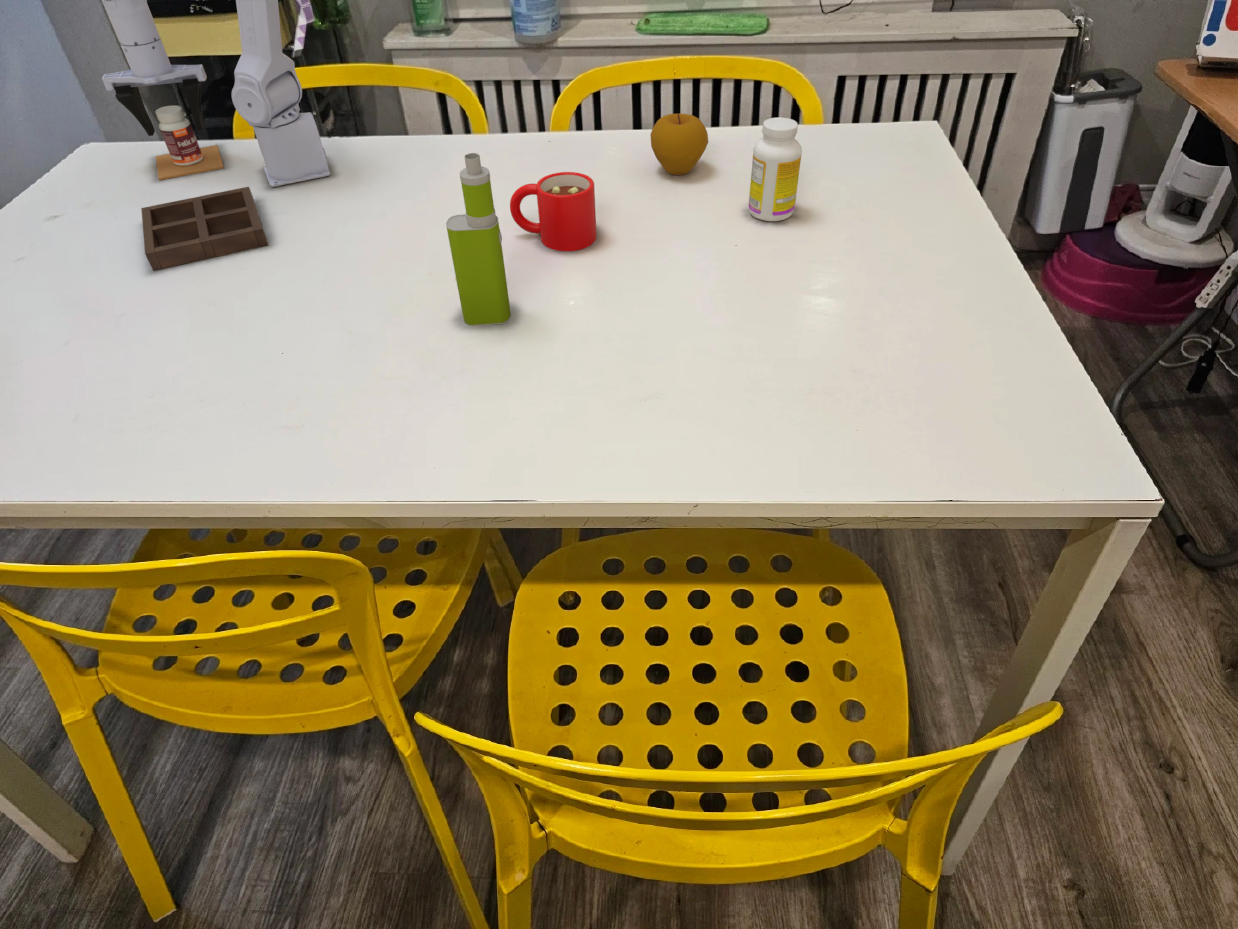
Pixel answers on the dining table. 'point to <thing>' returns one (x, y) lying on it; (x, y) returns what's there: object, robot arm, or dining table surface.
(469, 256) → the vape
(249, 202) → the rack
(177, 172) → the cork mat
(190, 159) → the pill bottle
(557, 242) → the mug
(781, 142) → the supplement bottle
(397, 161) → the dining table surface
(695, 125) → the apple
